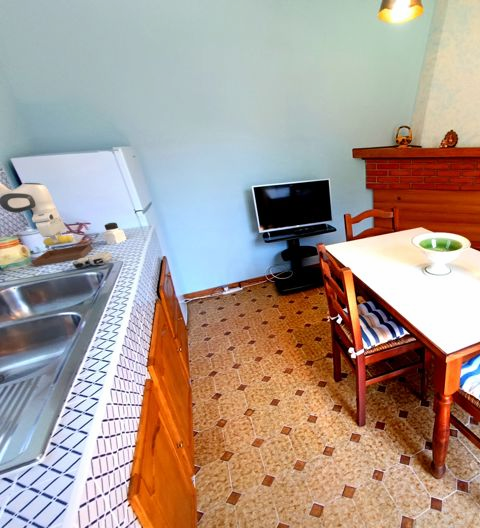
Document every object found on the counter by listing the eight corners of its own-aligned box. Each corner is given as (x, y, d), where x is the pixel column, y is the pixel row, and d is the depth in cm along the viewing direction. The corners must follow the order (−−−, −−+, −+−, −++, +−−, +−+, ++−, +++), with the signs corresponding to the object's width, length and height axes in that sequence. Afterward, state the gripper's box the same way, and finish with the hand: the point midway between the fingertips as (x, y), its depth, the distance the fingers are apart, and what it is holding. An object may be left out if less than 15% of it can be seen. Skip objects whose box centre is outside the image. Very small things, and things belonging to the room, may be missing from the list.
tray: (34, 266, 148) (31, 261, 147) (49, 255, 164) (47, 250, 163) (82, 259, 156) (80, 253, 155) (92, 249, 172) (90, 244, 171)
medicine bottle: (127, 240, 185) (120, 221, 180) (117, 244, 179) (110, 224, 174) (117, 240, 186) (110, 221, 181) (107, 244, 180) (99, 225, 175)
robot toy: (72, 274, 139) (110, 264, 144) (67, 265, 137) (106, 256, 143) (79, 265, 149) (115, 257, 154) (75, 257, 147) (111, 249, 153)
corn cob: (43, 247, 153) (40, 239, 152) (47, 245, 157) (43, 237, 155) (73, 242, 158) (70, 235, 157) (75, 240, 161) (72, 233, 160)
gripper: (47, 212, 159) (58, 237, 164) (29, 219, 142) (42, 247, 147) (62, 210, 161) (73, 235, 167) (47, 217, 144) (59, 244, 149)
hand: (58, 241), depth 157 cm, fingers closed on corn cob, 4 cm apart
